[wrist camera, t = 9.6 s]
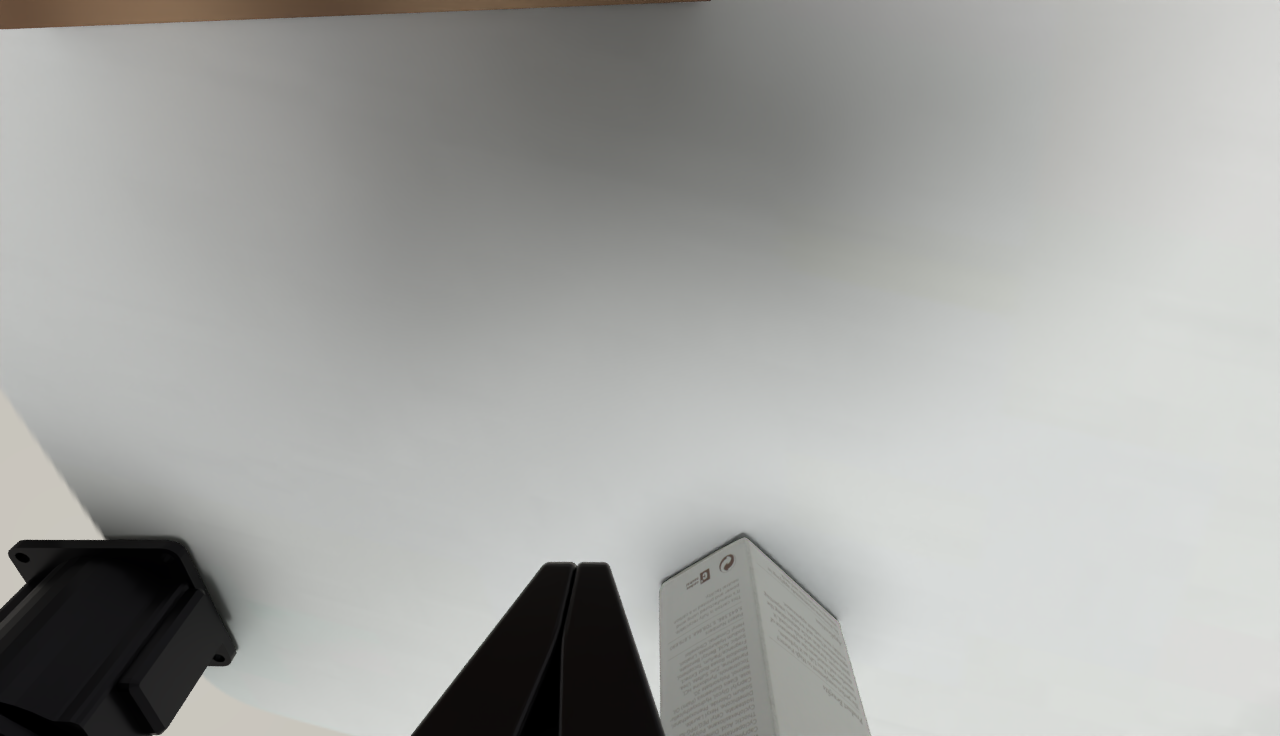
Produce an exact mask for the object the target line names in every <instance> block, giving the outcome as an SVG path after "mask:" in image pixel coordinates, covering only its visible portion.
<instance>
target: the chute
mask: <svg viewBox="0 0 1280 736" xmlns="http://www.w3.org/2000/svg"><path fill="white" fill-rule="evenodd" d="M695 1H711V0H0V29H20V28H45V27H70V26H95V25H120V24H145V23H170V22H195V21H220V20H245V19H270V18H295V17H320V16H345V15H370V14H395V13H420V12H445V11H470V10H495V9H520V8H545V7H570V6H595V5H620V4H645V3H670V2H695Z"/></svg>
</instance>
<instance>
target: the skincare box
mask: <svg viewBox="0 0 1280 736" xmlns="http://www.w3.org/2000/svg"><path fill="white" fill-rule="evenodd" d="M659 625H660V720H661V723H662V726H663V729H664V732H665V735H666V736H871V734H870V730H869V726H868V723H867V719H866V716H865V713H864V709H863V705H862V702H861V698H860V695H859V691H858V687H857V683H856V680H855V676H854V673H853V669H852V666H851V662H850V659H849V655H848V651H847V648H846V644H845V641H844V637H843V634H842V630H841V626H840V623H839V622H838V621H837V620H836V619H835V618H834V617H833V616H832V615H830V614H829V613H828V612H827V611H826V610H825V609H824V608H823V607H822V606H821V605H819V604H818V603H817V602H816V601H815V600H814V599H813V598H812V597H811V596H810V595H809V594H807V593H806V592H805V591H804V590H803V589H802V588H801V587H800V586H799V585H798V584H797V583H796V582H794V581H793V580H792V579H791V578H790V577H789V576H788V575H787V574H786V573H785V572H784V571H782V570H781V569H780V568H779V567H778V566H777V565H776V564H775V563H774V562H773V561H772V560H771V559H769V558H768V557H767V556H766V555H765V554H764V553H763V552H762V551H761V550H760V549H758V548H757V547H756V546H755V545H754V544H753V543H752V542H751V541H750V540H749V539H747V538H741V539H739V540H737V541H735V542H733V543H731V544H729V545H727V546H725V547H723V548H721V549H720V550H717V551H716V552H714V553H712V554H710V555H709V556H707V557H706V558H704V559H702V560H701V561H699V562H697V563H695V564H693V565H692V566H690V567H688V568H686V569H685V570H683V571H682V572H680V573H678V574H677V575H675V576H674V577H672V578H670V579H669V580H667V581H666V582H664V583H663V584H662V587H661V588H660V591H659Z"/></svg>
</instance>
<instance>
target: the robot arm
mask: <svg viewBox="0 0 1280 736" xmlns="http://www.w3.org/2000/svg"><path fill="white" fill-rule="evenodd" d="M8 555H9V558H10V559H11V561H12V562H13V563H14V565H15V567H16V568H17V570H18V571H19V573H20V574H21V576H22V577H23V578H24V580H25V582H26V584H25V585H24V587H22V588H21V589H20V590H19V591H18V592H17V593H16V594H15V595H14V596H13V597H12V598H11V599H10V600H9V601H8V602H7V603H6V604H5V605H4V606H3V607H2V608H1V609H0V736H152V735H160V734H162V733H163V732H164V731H165V730H166V729H167V728H168V726H169V725H170V723H171V722H172V720H173V719H174V717H175V715H176V714H177V712H178V711H179V709H180V708H181V706H182V705H183V703H184V702H185V700H186V698H187V697H188V695H189V694H190V692H191V691H192V689H193V688H194V686H195V684H196V683H197V681H198V680H199V678H200V677H201V675H202V674H203V672H204V671H205V669H206V667H207V666H227V665H229V664H230V663H231V662H232V660H233V658H234V657H235V655H236V649H235V647H234V645H233V643H232V641H231V639H230V637H229V635H228V633H227V631H226V629H225V627H224V625H223V623H222V621H221V619H220V617H219V615H218V613H217V611H216V609H215V607H214V604H213V602H212V600H211V598H210V596H209V594H208V592H207V590H206V588H205V586H204V584H203V582H202V580H201V578H200V576H199V574H198V572H197V570H196V568H195V566H194V564H193V562H192V560H191V558H190V556H189V554H188V552H187V550H186V549H185V547H184V546H182V545H181V544H180V543H177V542H175V541H169V540H21V541H19V542H18V543H17V544H16V545H14V546H13V547H12V548H11V549H10V550H9V552H8ZM411 736H666V735H665V732H664V729H663V726H662V723H661V720H660V717H659V714H658V711H657V708H656V705H655V702H654V699H653V696H652V693H651V690H650V687H649V683H648V680H647V677H646V674H645V671H644V668H643V665H642V662H641V659H640V656H639V653H638V650H637V647H636V644H635V641H634V638H633V635H632V632H631V629H630V626H629V623H628V620H627V617H626V614H625V611H624V608H623V605H622V602H621V599H620V596H619V593H618V590H617V587H616V584H615V581H614V578H613V574H612V571H611V569H610V566H609V565H608V564H607V563H605V562H581V563H579V564H578V566H576V564H575V563H573V562H547V563H545V564H544V565H543V566H542V567H541V568H540V570H539V571H538V572H537V574H536V575H535V576H534V577H533V579H532V580H531V581H530V583H529V584H528V585H527V586H526V588H525V589H524V590H523V592H522V593H521V594H520V595H519V597H518V598H517V599H516V601H515V602H514V603H513V605H512V606H511V607H510V608H509V610H508V611H507V612H506V614H505V615H504V616H503V617H502V619H501V620H500V621H499V623H498V624H497V625H496V626H495V628H494V629H493V630H492V632H491V633H490V634H489V635H488V637H487V638H486V639H485V641H484V642H483V643H482V645H481V646H480V647H479V648H478V650H477V651H476V652H475V654H474V655H473V656H472V657H471V659H470V660H469V661H468V663H467V664H466V665H465V666H464V668H463V669H462V670H461V672H460V673H459V674H458V675H457V677H456V678H455V679H454V681H453V682H452V683H451V685H450V686H449V687H448V688H447V690H446V691H445V692H444V694H443V695H442V696H441V697H440V699H439V700H438V701H437V703H436V704H435V705H434V706H433V708H432V709H431V710H430V712H429V713H428V714H427V715H426V717H425V718H424V719H423V721H422V722H421V723H420V725H419V726H418V727H417V728H416V730H415V731H414V732H413V734H412V735H411Z"/></svg>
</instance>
